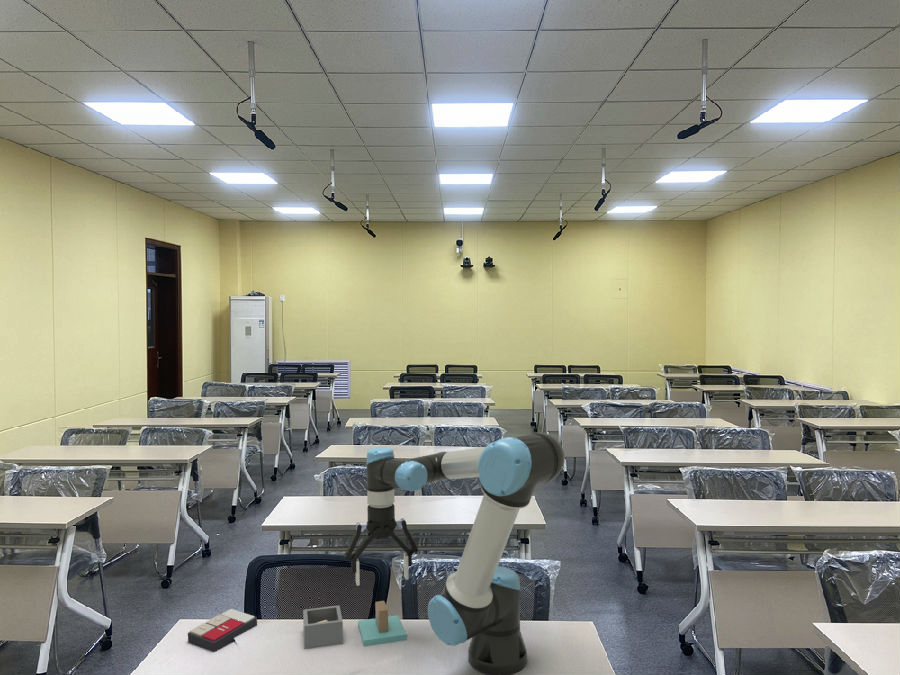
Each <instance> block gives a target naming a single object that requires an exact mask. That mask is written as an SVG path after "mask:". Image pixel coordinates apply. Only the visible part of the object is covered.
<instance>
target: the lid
mask: <svg viewBox="0 0 900 675" xmlns="http://www.w3.org/2000/svg"><path fill="white" fill-rule="evenodd" d="M374 606H375V618H369V619H364V620H363V619H362V620H357V627H358V630H359V634H360V637H361V641H362V644H363V647H368V646H369V647H370V646H376V645H380V644H382V645H383V644H389V643H395V642H401V641H402V642H403V641H406V640H407V636H408V635H407V633H406V630H405V627H404V625H403V624H402V621H401V619H400V617H399V615H398V614H397V615H391V616H390V615H389V609H388V606H387V605H386V602H385V600H380V601H375V604H374Z"/></svg>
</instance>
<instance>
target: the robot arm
mask: <svg viewBox="0 0 900 675" xmlns="http://www.w3.org/2000/svg"><path fill="white" fill-rule="evenodd" d="M565 457H566V456H565V451H564V447H563V446H562V445H561V443H560V441H559V440H558V439H557V438H555V437H554V436H552V435H551V434H548V433H546V432H531V433H527V434H523V435H519V436H518V435H517V436H514V437H510V436H509V437H508V436H507V437H503V438H500V439H497V440H496V441H493V442H491V443H489V444H488V445H487V446H483V447H476V448H468V449H460V450H453V451H439V452H437V453H432V454H428V455H427V454H426V455H422V456H417V457H413V458H407V459H401V458H396V457H395V453H394V450H393V449H392V448H390V447H374V448H371V449H368V451H367V453H366V463H365V465H366V487H367V491H366V492H367V504H368V505H367V510H366V511H367V521H366V523H361V522H356V524H355V532H354V534H353V535H352V538H351V540H350V541H349V545H348V546H347V549H346V551H345V553H344V557H345V558H344V559H345V560H346V561H351V573H352V574H355V583H356V584H355V585H356V586H360V584H361V582H360V578H361V577H360V559H359V557H360V556H361V555H362V554H363V553H364V551H365V550H366V549H367V547H368V546H369V544H370V543H371V542H372V541H373V540H374V539H375V540H381V539H388V538H390V537H391V538H392V540H394V541H395V543H396V544H398V546H400V548H401V549H402V550H403V551H404V552H403V577H404V579H405V580H406V581H408V580H409V577H410V576H409V567H412V566H413V559H412V558H413V554H416V553H418V552H419V548H418V546H417V544H416V542H415V541H414V539H413V537H412V535H411V533H410V531H409V529H408V528H407V527H408V525H407V521H406V519H405V518H401V519H400V520H396V518H395V516H396V515H395V514H396V512H395V510H396V508H395V504H394V503H395V488H396V489H400V490H403V491H406V492H407V491H409V492H410V491H411V492H417V491H420V490H421V489H422V488H423V487H424V486H426V485H427V484H431V483H435V482H440V481H447V480H451V481H452V480H457V479H458V480H459V479H460V480H461V479H473V478H478V479H479V482H480V490H481V492H482V493H483V496H482V499H481V502H480V505H479V507H478V510H477V514H476V515H475V519H474V522H473V525H472V527H471V530H470V532H469V536H468V538H467V541H466V543H465V546H464V548H463V549H464V550H463V553H462V556H461V557H460V561H459V564H458V567H457V568H456V571H455V572H453V573H450V574H449V575H448V577H447V579H446V581H445V583H444V586H443V590H442V592H441V593H439V594H437V595H434V596H433V597H432V598H431V599H430V600H429V602H428V604H427V605H428V606H427V617H428V621H429V623H430V626H431V630H432V631H433V633H434V634H435V636H436V637H437V638H438V639H439V640H440V641H441V642H443V644H445V645H447V646H452V647H454V646H457V645H460V644H464V643H465V642H467V641H469V640H470V642H469V646H468V653H467V654H468V656H467V657H468V658H467V661H468V663H469V664H470V666H472V668H474V669H475V670H477V671H479V672H480V673H484V674H487V675H511V674H514V673H518V672H520V671H522V670H523V669H524V668H525V667H526V665H527V664H528V650H527V647H526V644H525V642H524V638H523V635H522V632H521V586H520V584H521V583H520V577H519V576H520V575H518V573H517V572H516V571H514V570H513V569H510V568H507V567H504V566H499V564H500V561H501V558H502V556H503V553H504V552H505V548H506V545H507V543H508V540H509V538H510V535H511V532H512V530H513V528H514V525H515V522H516V519H517V516H518V515H519V514H518V513H519V511H520V509H521V510H522V509H524V508H526V507H528V506H529V504H530V502H531V499H532V496H533V495H534V492H535V489H536V488H537V486H541V485H544V484H546V483H549V482H551V481H553V480H555V479H556V478H557V477H558V476H559V475H560V474H561V473H562V471H563V468H564V466H565V463H566V462H565V460H566V459H565ZM396 527H398V528H399V529H401V530H402V531H403V534H404V535H405V537H406V538H407V541H408V542H409V544H410V546H411V547H409V546H408V545H407V544H406V543H405V542H404V541H403V540H402V539H401V538H400V537H399V535H398V534H397V533H396V532H395V529H396ZM365 529H366V530H367V532H368V533H367V534H366V536H365V537H364V538H363V540H362V541H361V542H360V544H359V545H358V546H357V544H358V541H359V539H360V537H361V536H362V535H361V534H362V533H364V530H365ZM356 546H357V547H356ZM355 548H356V549H355Z"/></svg>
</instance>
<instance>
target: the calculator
mask: <svg viewBox="0 0 900 675" xmlns="http://www.w3.org/2000/svg"><path fill="white" fill-rule="evenodd" d="M238 620H239V621H238ZM257 626H258V617H257V616H255V615H251V614H249V613H245V612H243V611H239V610H237V609H234V608H229V609H228V610H226V611H224V612H222V613H221V614H217V615H216V616H214V617H212V618H210V619H208V620H207V621H206V622H203V623H201V624H200V625H198V626H196V627H194V628H192V629H191V630H190V631H189V632H187V643H188V644H191V645H194V646H196V647H199V648H201V649H204V650H207V651H208V652H209V651H210V652H212V653H215V652H219V650H222V649H224V648H225V647H226V646H229V645H230V644H232V643H234V642H236V639H235V638H237V637H239V636H241V635H242V634H245V633H246V632H248V631H251V629H253V628H255V627H257Z"/></svg>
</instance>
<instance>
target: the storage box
mask: <svg viewBox="0 0 900 675" xmlns="http://www.w3.org/2000/svg"><path fill="white" fill-rule="evenodd" d="M302 612H303V613H302V615H303V616H302V618H303V621H302V622H303V626H302V627H303V628H302V629H303V644H304V646H303V647H304V650H307V649H314V648H315V649H316V648H321V647H322V648H323V647H329V646H330V647H331V646H338V645H343V644H344V639H343V638H344V637H343V636H344V634H343V633H344V632H343V629H344V628H343V626H344V625H343V624H344V623H343V622H344V620H343V617H342V612H341V606H340V605H331V606H323V607H316V608H307V609H302ZM324 620H327V621H328V622H320V621H324ZM317 622H320V623H317Z"/></svg>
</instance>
